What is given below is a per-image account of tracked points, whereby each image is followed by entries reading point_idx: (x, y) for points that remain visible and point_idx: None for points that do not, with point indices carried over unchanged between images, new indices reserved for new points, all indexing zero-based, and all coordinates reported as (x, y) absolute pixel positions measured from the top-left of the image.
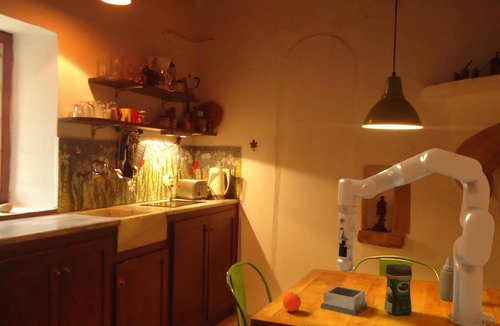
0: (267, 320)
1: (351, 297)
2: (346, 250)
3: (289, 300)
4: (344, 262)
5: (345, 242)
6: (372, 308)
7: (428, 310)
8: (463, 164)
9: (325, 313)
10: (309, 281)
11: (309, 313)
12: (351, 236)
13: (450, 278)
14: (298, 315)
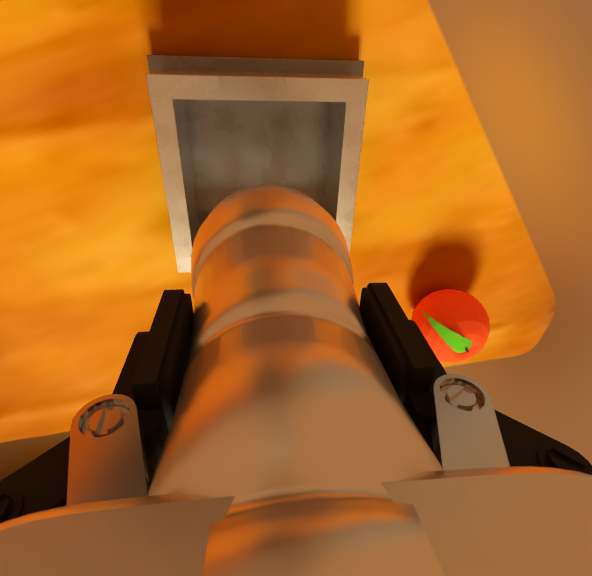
0: (552, 315)
1: (352, 106)
2: (414, 334)
3: (489, 328)
4: (351, 269)
5: (500, 448)
6: (165, 8)
7: None
8: None
9: (397, 197)
10: (32, 415)
11: (428, 247)
12: (482, 551)
13: None
14: (468, 267)
